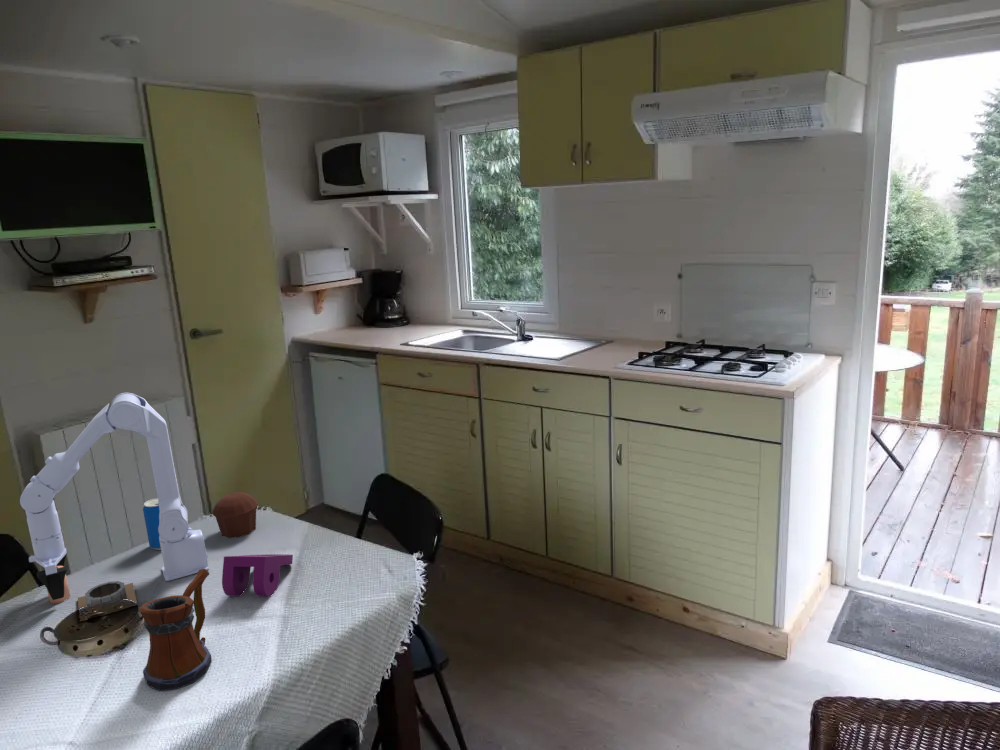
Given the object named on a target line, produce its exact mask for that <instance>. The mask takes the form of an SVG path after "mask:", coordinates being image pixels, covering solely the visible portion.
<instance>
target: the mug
mask: <svg viewBox="0 0 1000 750" xmlns="http://www.w3.org/2000/svg"><path fill="white" fill-rule="evenodd" d="M209 575H210V572H209V570H206V569H201V570H199V571H198V573H196V576H195V577H194V578H193V579H192V581H191V582H189V584H188V585H187V586H186V588H185V590H184V591H183V594H181V595H180V594H177V595H170V596H164V597H159V598H156V599H152V600H149V601H147V602H145V603H144V604H141V606H140V607H138V611H139V614H140V615H141V616H142V618H143V619H144V623H143V626H144V628H145V629H146V631H147V632H148V633H149V635H148V636H149V652H148V658H147V661H146V665H145V667H144V668H143V670H142V674H143V675H142V676H143V677H144V680H145V682H146V684H147V686H149V688H152V689H154V690H157V691H159V692H163V691H171V690H177V689H180V688H183V687H185V686H188V685H191V684H193V683H195V682H196V681H198V679H200V678H201V677H202V676H204V675H205V674H206V673H207V671H208V669H210V668H209V667H210V666H211V664H212V660H213V659H212V654H211V653H210V651H209V649H208V647H207V646H205V645H206V637H201V636H200V635H201V631H202V628H203V626H204V622H205V619H206V608H205V604H204V600H203V584H204V582H205V581H206V579H207V577H209ZM192 594H193V599H192V598H191V596H192ZM194 613H195V616H194ZM195 617H196V618H195ZM194 619H195V625H194V624H193V622H194ZM200 637H201V638H200Z"/></svg>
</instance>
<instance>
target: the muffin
mask: <svg viewBox="0 0 1000 750" xmlns="http://www.w3.org/2000/svg"><path fill="white" fill-rule="evenodd" d="M258 505H259V502H258V500H257V499H256V498H255V496H252V495H251V494H249V493H246V492H241V491H237V492H231V493H228V494H226V495H224V496H223V497H221V498H220V499H219V500H218V501H217V502H216V503H215V505H214V507H213V508H212V509H211V510H212V511H211V515H213V516H214V518H215V520H216V523H217V526H218V530H219V531H220V535H221V537H225V538H227V539H232V538H242V537H244V536H246V535H250V534H251V533H252V532H254V531H255V530H256V529H257V527H256V526H257V508H258Z"/></svg>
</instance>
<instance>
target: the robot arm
mask: <svg viewBox="0 0 1000 750" xmlns="http://www.w3.org/2000/svg"><path fill="white" fill-rule="evenodd" d="M116 429H119V430H120V429H121V430H125V431H133V432H136V433H138V434H140V435H142V436H144V437H145V438H146V442H147V447H148V453H149V458H150V463H151V464H150V465H151V470H152V473H153V481H154V486H155V491H156V496H157V498H158V502H159V510H160V513H159V520H160V521H159V527H158V532H159V535H160V536H159V541H160V546H161V550H160V553H161V557H162V563H163V566H161V571H162V574H163V577H164V580H165V582H170V581H174V580H177V579H181V578H184V577H188V576H190V575H194V574H197V573H198V571H199V570H201V569H206V570H207V571H209V569H210V567H209V562H208V553H207V550H206V545H205V539H204V535H203V532H202V529H194V530H193V528H192V527H190V525H189V521H188V518H189V517H188V516H189V512H188V509H187V508H186V506H185V505H184V504H183V502H182V498H181V494H180V490H179V485H178V480H177V474H176V469H175V464H174V457H173V452H172V447H171V442H170V436H169V430H168V425H167V422H166V420H165V418H164V417H163V416H161V415H160V413H158V412H157V410H155V409H154V408H153V407H152V406H151V405H150V404H149V403H148V402H147V400H146V399H145V398H144V397H141V396H140V395H137V394H136V393H131V392H122V393H121V392H120V393H119V394H117V395H116V396H114V397H113V399H112V400H111V404H110V403H107V404H106V405H105V406H104V407H103V408H101V410H99V412H98V413H96V415H94V417H93V418H92V419H91V420H90V422H89V423H87V425H86V426H85V428H84V429H83V430H82V431H81V433H80V434H79V435H78V436H77V437H76V439H74V441H73V442H72V444H71V445H70V446H69V447H68V449H66V451H63V452H58V453H54V455H53V456H47V458H46V460H45V462H44V463H45V465H44V467H42V468H41V470H40V471H39V472H38V473H37V474H36V475H33V476H32V477H31V478H30V479H29V481H30V482H29V483H28V484H27V485H26V486H25V487H24V490H23V491H22V493H21V495H20V497H19V498H20V499H19V505H20V506H21V508H22V509H23V510H24V511H25V515H26V523H27V526H28V531H29V536H30V540H31V545H32V550H33V553H34V555H30V556H29V557H28V562H29V563H34V562H36V563H37V564H39V566H41V567H43V568H44V570H40V571H37V572H36V577H37V580H39V581H40V582H41V583H42V584H43V585H44V586H45V588H46V590H48V591H47V593H48V592H49V594H50V596H51V598H52V599H53V600H56V599H60V598H63V597H64V579H65V575H66V576H67V571H68V566H67V565H65V562H66V561H65V560H66V557H67V555H68V549H67V548H66V546H65V543H64V542H65V541H64V537H63V534H62V533H63V532H62V528H61V527H62V526H61V523H60V518H59V513H58V511H57V508H56V504H55V500H54V498H55V496H56V494H58V493H60V492H61V491H62V490H63V488H65V486H67V484H68V483H69V482H70V481H71V479H73V477H74V476H75V475H76V473H78V472H79V470H80V460H81V459H82V457H83V456H84V455H85V454H86V453H87V452H88V451H89V450H90V449H91V448H92V447H93V445H94V444H95V443H96V442H97V441H98V440H99V439H100V437H102V436H103V435H104V434H109V433H115V432H116ZM56 566H64V567H61V568H58V567H56Z"/></svg>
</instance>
